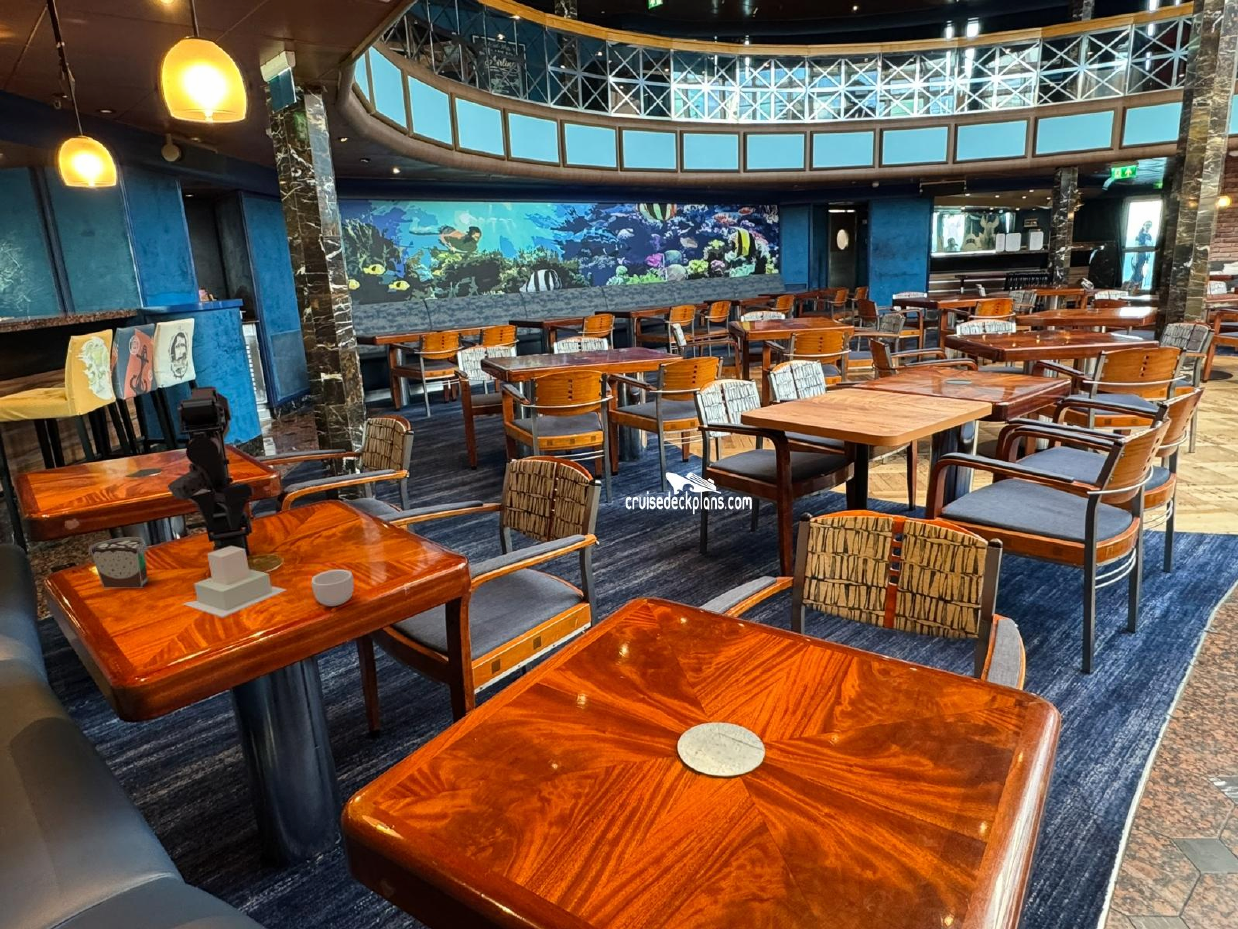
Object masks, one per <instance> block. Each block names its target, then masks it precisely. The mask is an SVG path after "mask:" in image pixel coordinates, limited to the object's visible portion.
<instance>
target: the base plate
mask: <svg viewBox="0 0 1238 929" xmlns="http://www.w3.org/2000/svg"><path fill="white" fill-rule="evenodd" d="M271 589H272V592H270V593H268V594H265V595H263V596H261V597H258V598H256V599H253V600H251V601H248V602H246V603H244V604H241V605H239V606H236V607H234V608H231V609H229V610H227V611H226V610H223V609H219V608H216V607H213V606H210V605H206V604H203V603H200V602H198V600H193V601H189V602H184V603H183V605H185V606H187V607H189V608H193V609H196V610H199V611H202V612H204V613H208V614H210V615H213V616H215V617H219V618H222V619H224V618H225V617H228V616H230V615H233V614H236V613H237V612H240V611H242V610H244V609H247V608H249V607H250V606H253V605H256V604H259V603H260V602H262V601H265V600H267V599H270V598H272V597H274V596H276V595H279V594H282V593H284V592H286V591H287V589H286V588H282V587H277V586H273V585H272V586H271Z"/></svg>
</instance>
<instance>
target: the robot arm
mask: <svg viewBox="0 0 1238 929" xmlns="http://www.w3.org/2000/svg"><path fill="white" fill-rule="evenodd" d="M228 400H229V399H228V398H227V397H225V396H224V395H222V394H220V393H219V392H218V391H217V387H216V386H213V385H209V386H199V387H194V388H191V397H190V398H187V399H181V400H180V404H179V405H177V414H178V425H179V435H180V436H189V438H188V440H189V442H188V444H187V445H186V449H185V455H186V457H187V459H188V460H189V462H190V463H189V466H188V469H189V471H188V472H187V473H185V474H183V475H181V476H179V477H178V478H176V479H175V480H173V481H171V482H170V483H169V484H167V488H168V490H169V491H170V493H171V494H172V495H173V497H174V499H176V500H178V499H180V500H182V501H187V500H188V501H191V502H192V503H193V504H194V505H195V507H196V509H197V510H198V511H199V513H200V515H201V516H202V519H203V520H204V525H205V530H206V534H207V538H208V541H209V543H211V542H213V546H212V548H213V552H214V551H216V550H219V549H222V548H225V547H228V546H234V547H239V548H243V549H245V552H246V557H247V556H250V555H251V554H250V548H249V541H248V536H250V535H251V534H253V528H252V523H251V518H250V516H249V515H248V514H247V512H246V510H245V507H246V505H247V502H248V500H250V499H251V497H252V496H254V491H253V490H254V489H253V485H251V484H250V483H247V482H243V481H235V482H234V481H233V477H231V476H230V471H229V470H230V469H229V465H230V459H229V458H228V457H227V456H228V455H227V450H226V442H225V440H226V437H227V435H228V433H229V432H230V431H231V427H230V422H231V421H232V413H231V408H230V404H229V401H228ZM229 421H230V422H229Z"/></svg>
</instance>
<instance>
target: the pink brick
mask: <svg viewBox="0 0 1238 929" xmlns="http://www.w3.org/2000/svg"><path fill="white" fill-rule="evenodd" d="M206 554H207V558H208V559H207V560H208V565H209V569H210V574H211V575H210V576H211V577H212V580H213V582H217V583H221V584H224V585H229V584H231V583H234V582H237V581H239V580H242V579H245V578H247V577H250V573H249V569H250V567H249V563H248V558H247V556H246V552H245V549H243V548H239V547H234V546H228V547H225V548H222V549H219V550H216V551H214V550H213V551H211V552H208V553H206Z"/></svg>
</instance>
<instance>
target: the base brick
mask: <svg viewBox="0 0 1238 929" xmlns="http://www.w3.org/2000/svg"><path fill="white" fill-rule="evenodd" d="M249 573H250V577H247V578H245V579H242V580H239V581H237V582H234V583H231V584H229V585H224V584H221V583H217V582H213V580H212V576H211V577H208V578H205V579H203V580H200V581H198V582H195V583H193V585H194V589H195V590H194V591H195V595H196V601H198V602H200V603H203V604H206V605H210V606H213V607H216V608H219V609H223V610H226V611H227V610H229V609H231V608H234V607H236V606H239V605H241V604H244V603H246V602H248V601H251V600H253V599H256V598H258V597H261V596H263V595H265V594H268V593H270V592H272V589H271V587H272V583H271V579H270V578H271V577H270V574H269V573H266V572H263V571H259V570H255V569H251V568H249Z"/></svg>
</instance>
